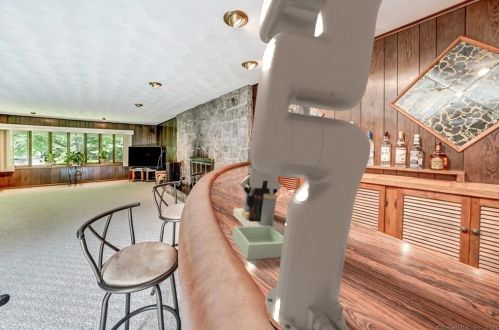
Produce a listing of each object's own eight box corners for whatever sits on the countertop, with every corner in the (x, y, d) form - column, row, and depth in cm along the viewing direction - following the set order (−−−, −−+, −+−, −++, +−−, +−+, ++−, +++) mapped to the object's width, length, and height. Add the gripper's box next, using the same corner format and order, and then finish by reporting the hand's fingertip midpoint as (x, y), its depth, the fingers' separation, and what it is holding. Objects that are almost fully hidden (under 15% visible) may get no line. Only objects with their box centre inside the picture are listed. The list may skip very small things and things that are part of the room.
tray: (289, 256, 55) (291, 242, 55) (246, 259, 51) (248, 245, 50) (268, 237, 66) (270, 225, 66) (232, 238, 61) (233, 226, 61)
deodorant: (263, 226, 72) (269, 181, 71) (246, 223, 73) (251, 179, 72) (266, 221, 77) (271, 179, 77) (249, 218, 79) (254, 177, 78)
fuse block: (283, 236, 68) (289, 197, 67) (254, 237, 64) (259, 196, 63) (256, 214, 87) (260, 184, 87) (233, 214, 84) (237, 183, 83)
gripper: (245, 152, 67) (238, 209, 68) (292, 158, 74) (285, 210, 75) (237, 151, 74) (231, 203, 75) (281, 156, 81) (275, 204, 82)
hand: (258, 206), depth 75 cm, fingers closed on deodorant, 5 cm apart
